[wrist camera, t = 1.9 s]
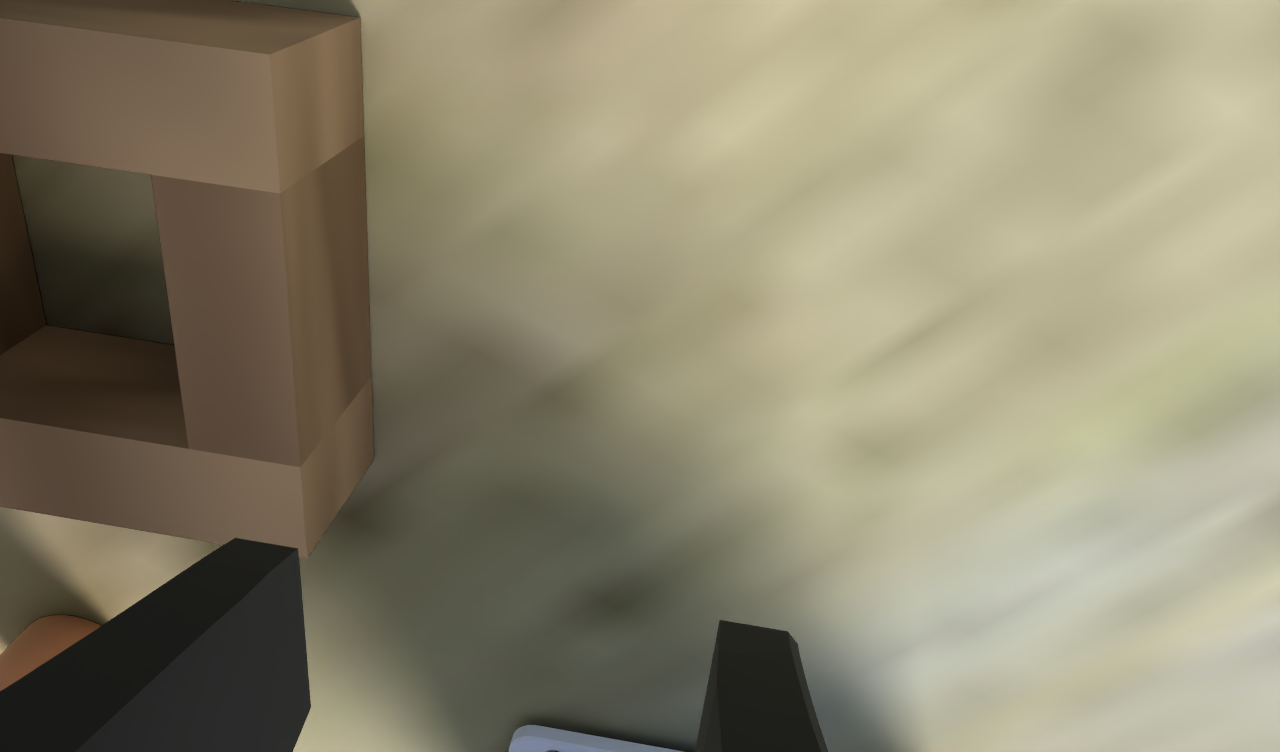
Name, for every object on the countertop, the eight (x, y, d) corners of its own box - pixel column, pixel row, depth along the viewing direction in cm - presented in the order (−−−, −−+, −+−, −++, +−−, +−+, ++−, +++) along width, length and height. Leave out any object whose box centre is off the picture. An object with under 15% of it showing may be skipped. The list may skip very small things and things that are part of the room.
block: (361, 17, 15) (269, 54, 12) (374, 459, 19) (307, 558, 16) (-136, -48, 16) (-323, -26, 13) (-25, 394, 19) (-152, 480, 17)
